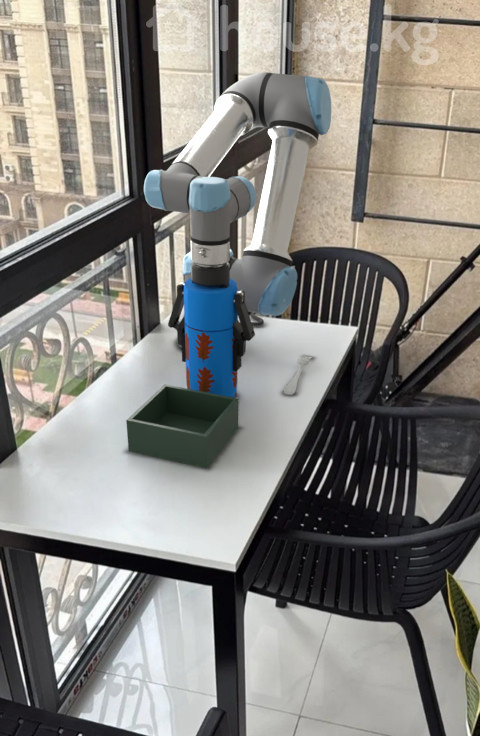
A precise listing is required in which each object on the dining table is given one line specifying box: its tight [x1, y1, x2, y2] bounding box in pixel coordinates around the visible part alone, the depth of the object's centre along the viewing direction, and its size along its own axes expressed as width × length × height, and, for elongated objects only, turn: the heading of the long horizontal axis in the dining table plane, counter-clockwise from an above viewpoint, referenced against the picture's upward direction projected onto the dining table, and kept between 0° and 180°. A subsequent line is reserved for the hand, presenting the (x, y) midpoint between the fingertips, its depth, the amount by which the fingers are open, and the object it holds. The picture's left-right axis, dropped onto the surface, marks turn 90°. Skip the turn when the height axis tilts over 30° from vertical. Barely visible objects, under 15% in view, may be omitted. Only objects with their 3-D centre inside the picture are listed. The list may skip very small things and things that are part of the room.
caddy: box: [125, 383, 240, 469], centre depth 146 cm, size 16×16×7 cm
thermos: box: [183, 278, 239, 398], centre depth 156 cm, size 11×11×25 cm
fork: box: [283, 355, 313, 396], centre depth 175 cm, size 3×21×3 cm, turn 167°
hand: (211, 364), depth 159 cm, fingers closed on thermos, 11 cm apart
